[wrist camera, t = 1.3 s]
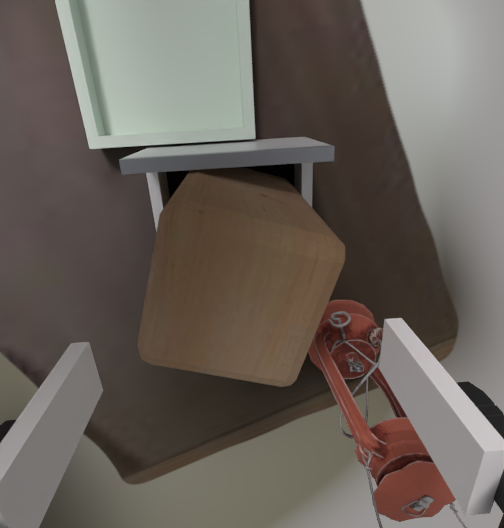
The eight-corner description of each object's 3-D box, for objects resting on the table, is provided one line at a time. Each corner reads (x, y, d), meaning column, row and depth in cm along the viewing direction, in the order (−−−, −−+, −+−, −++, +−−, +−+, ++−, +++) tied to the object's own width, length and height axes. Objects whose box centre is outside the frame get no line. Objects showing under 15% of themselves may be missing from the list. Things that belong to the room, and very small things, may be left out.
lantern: (298, 363, 45) (401, 747, 18) (301, 295, 41) (442, 659, 14) (371, 360, 46) (581, 728, 18) (381, 292, 42) (672, 637, 14)
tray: (55, -53, 27) (38, -68, 25) (244, -61, 28) (245, -77, 25) (99, 146, 33) (89, 149, 31) (253, 137, 34) (255, 138, 31)
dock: (151, 146, 33) (118, 159, 24) (304, 136, 34) (334, 146, 24) (172, 271, 39) (152, 324, 29) (303, 261, 39) (327, 311, 30)
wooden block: (292, 179, 36) (358, 249, 17) (265, 264, 39) (296, 396, 21) (197, 153, 34) (159, 199, 16) (178, 244, 38) (130, 368, 19)
